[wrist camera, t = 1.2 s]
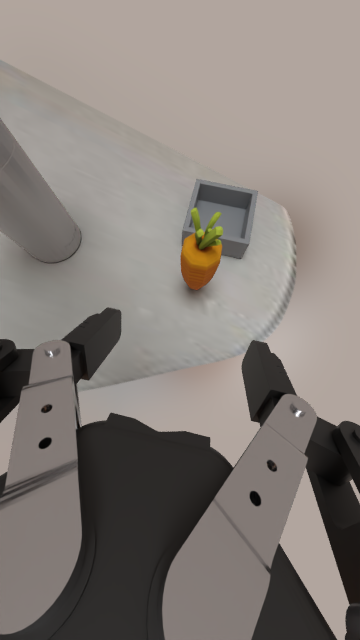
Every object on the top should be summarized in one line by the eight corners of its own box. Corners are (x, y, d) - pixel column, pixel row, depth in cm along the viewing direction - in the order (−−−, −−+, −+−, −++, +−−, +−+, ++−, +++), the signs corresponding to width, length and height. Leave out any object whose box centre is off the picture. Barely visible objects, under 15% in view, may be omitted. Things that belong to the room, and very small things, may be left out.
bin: (182, 246, 33) (182, 230, 30) (194, 199, 36) (196, 178, 32) (240, 258, 33) (248, 244, 29) (249, 210, 35) (258, 190, 32)
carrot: (176, 276, 32) (176, 201, 17) (205, 271, 32) (227, 193, 18) (182, 303, 31) (187, 247, 16) (212, 298, 31) (242, 237, 17)
